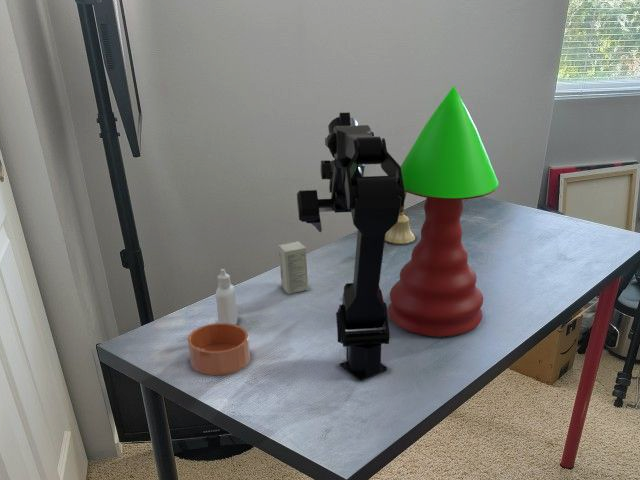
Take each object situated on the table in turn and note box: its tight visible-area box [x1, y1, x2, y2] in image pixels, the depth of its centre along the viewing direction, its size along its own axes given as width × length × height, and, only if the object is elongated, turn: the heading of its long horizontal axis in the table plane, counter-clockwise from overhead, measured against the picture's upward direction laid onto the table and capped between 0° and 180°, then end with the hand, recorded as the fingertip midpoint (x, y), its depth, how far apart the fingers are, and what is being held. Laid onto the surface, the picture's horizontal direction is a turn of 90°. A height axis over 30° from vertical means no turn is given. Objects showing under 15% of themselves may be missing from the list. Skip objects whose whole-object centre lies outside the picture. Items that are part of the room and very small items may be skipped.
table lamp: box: [387, 85, 500, 338], centre depth 140 cm, size 20×20×45 cm
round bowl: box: [187, 322, 251, 376], centre depth 136 cm, size 11×11×5 cm
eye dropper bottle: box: [215, 268, 239, 325], centre depth 145 cm, size 4×6×12 cm
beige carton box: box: [278, 240, 309, 295], centre depth 160 cm, size 5×4×10 cm
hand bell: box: [385, 192, 416, 245], centre depth 182 cm, size 8×8×16 cm
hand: (341, 229), depth 152 cm, fingers open, 9 cm apart
